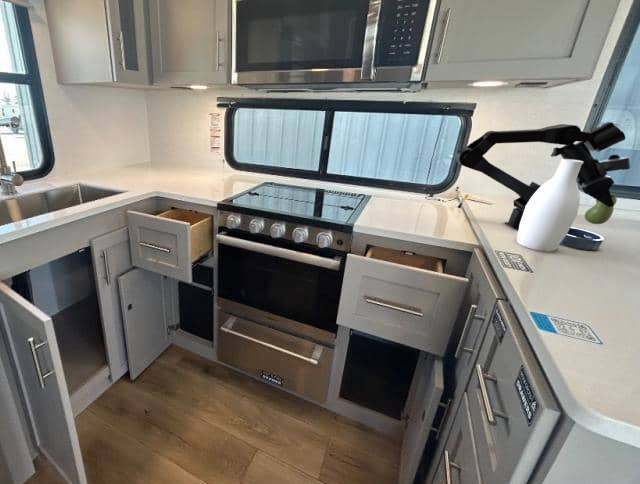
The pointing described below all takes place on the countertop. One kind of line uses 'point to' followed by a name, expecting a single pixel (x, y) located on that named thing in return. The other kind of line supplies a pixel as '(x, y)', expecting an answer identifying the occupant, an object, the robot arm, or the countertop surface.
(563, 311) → the countertop surface
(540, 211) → the bottle
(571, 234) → the holder
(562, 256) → the countertop surface
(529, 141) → the robot arm
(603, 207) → the pear
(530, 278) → the countertop surface
